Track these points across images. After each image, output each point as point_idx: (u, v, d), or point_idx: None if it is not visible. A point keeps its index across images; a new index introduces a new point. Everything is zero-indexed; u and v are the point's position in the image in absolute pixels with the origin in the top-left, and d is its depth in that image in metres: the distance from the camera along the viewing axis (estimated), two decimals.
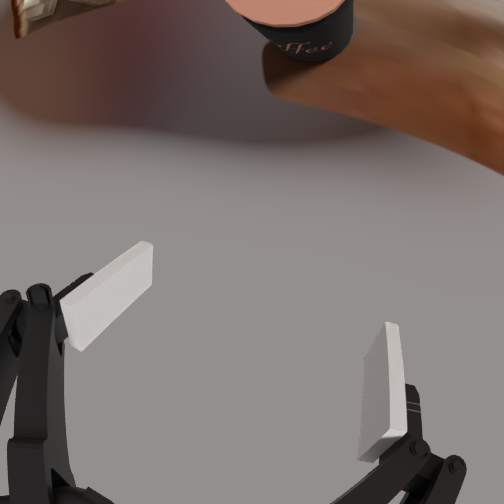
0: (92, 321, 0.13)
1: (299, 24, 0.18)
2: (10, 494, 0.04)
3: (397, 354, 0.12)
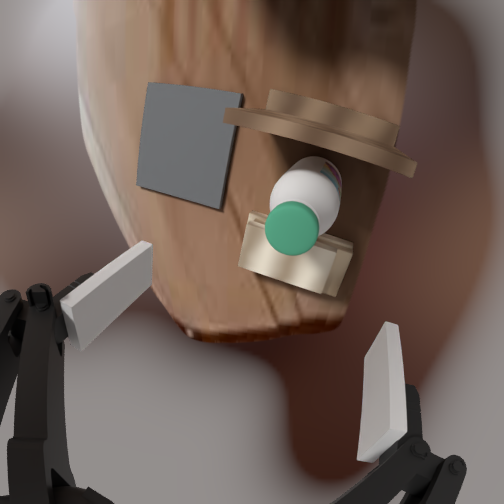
0: (92, 321, 0.13)
1: None
2: (10, 494, 0.04)
3: (397, 354, 0.12)
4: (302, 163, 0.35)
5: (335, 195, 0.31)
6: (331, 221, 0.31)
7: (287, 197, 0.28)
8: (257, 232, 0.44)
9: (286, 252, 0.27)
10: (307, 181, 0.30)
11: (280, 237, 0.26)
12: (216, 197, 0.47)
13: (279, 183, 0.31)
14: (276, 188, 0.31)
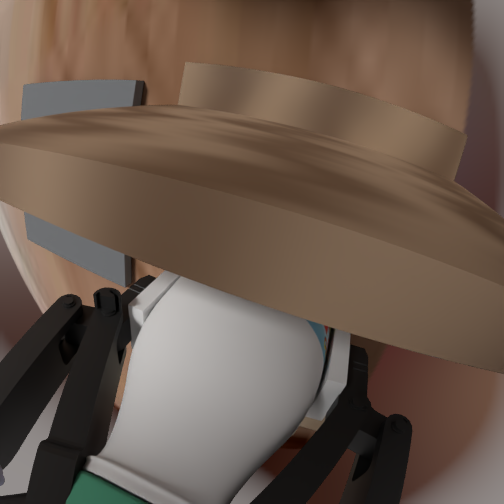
0: None
1: None
2: (28, 493, 0.04)
3: None
4: None
5: (308, 370, 0.10)
6: (290, 435, 0.10)
7: (129, 423, 0.07)
8: None
9: None
10: (207, 353, 0.08)
11: None
12: (118, 269, 0.26)
13: (143, 330, 0.10)
14: (135, 344, 0.10)
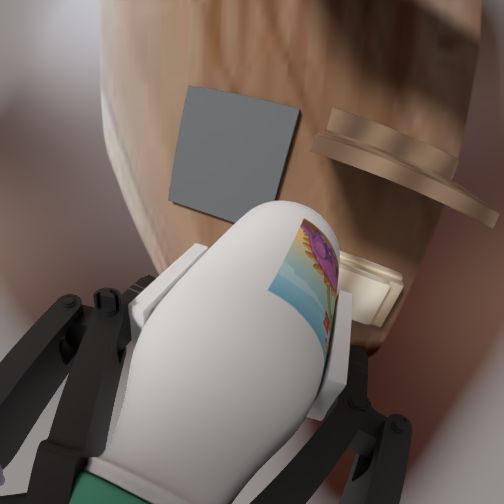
0: None
1: None
2: (28, 493, 0.04)
3: (346, 317, 0.14)
4: (236, 239, 0.14)
5: (309, 371, 0.10)
6: (291, 436, 0.10)
7: (130, 424, 0.07)
8: None
9: None
10: (208, 355, 0.08)
11: None
12: None
13: (144, 331, 0.10)
14: (136, 345, 0.10)
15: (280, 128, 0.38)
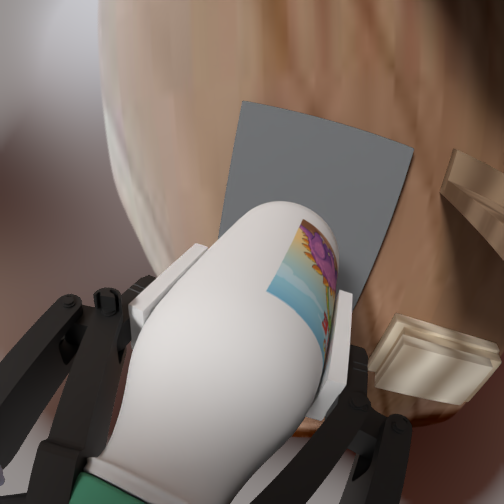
0: None
1: None
2: (28, 493, 0.04)
3: (346, 317, 0.14)
4: (235, 239, 0.14)
5: (307, 371, 0.10)
6: (290, 436, 0.10)
7: (129, 425, 0.07)
8: (414, 353, 0.27)
9: None
10: (206, 355, 0.08)
11: None
12: None
13: (142, 332, 0.10)
14: (135, 346, 0.10)
15: (387, 175, 0.25)
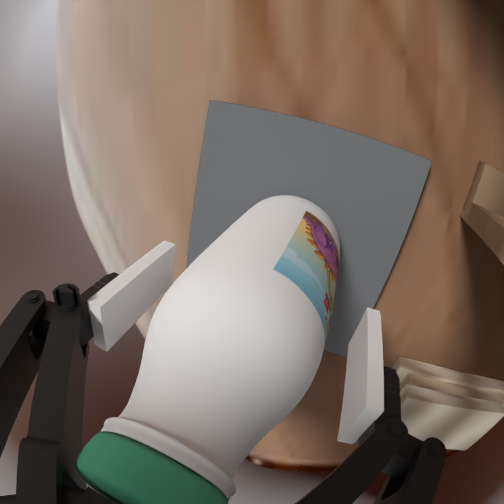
0: (118, 321, 0.13)
1: None
2: (17, 493, 0.04)
3: (377, 338, 0.13)
4: (244, 227, 0.16)
5: (310, 342, 0.11)
6: (294, 406, 0.11)
7: (147, 386, 0.08)
8: (418, 405, 0.21)
9: None
10: (220, 322, 0.10)
11: (122, 503, 0.07)
12: (346, 341, 0.25)
13: (159, 306, 0.12)
14: (152, 320, 0.12)
15: (396, 195, 0.19)
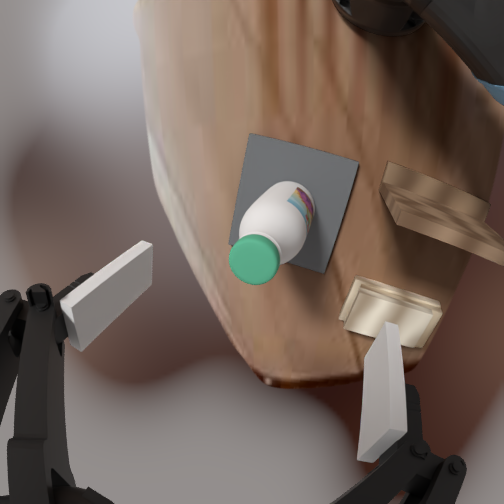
0: (92, 321, 0.13)
1: None
2: (10, 494, 0.04)
3: (397, 354, 0.12)
4: (272, 191, 0.38)
5: (301, 223, 0.33)
6: (297, 249, 0.33)
7: (252, 229, 0.30)
8: (368, 300, 0.44)
9: (249, 281, 0.29)
10: (272, 212, 0.32)
11: (243, 268, 0.28)
12: (322, 262, 0.47)
13: (247, 213, 0.34)
14: (244, 218, 0.34)
15: (341, 180, 0.42)
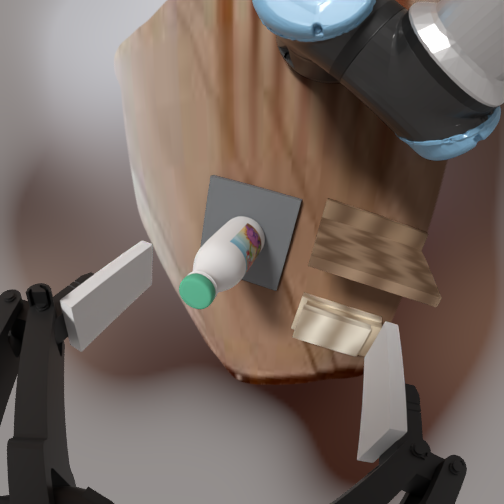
0: (92, 321, 0.13)
1: None
2: (10, 494, 0.04)
3: (397, 354, 0.12)
4: (223, 229, 0.48)
5: (239, 260, 0.43)
6: (235, 280, 0.43)
7: (197, 267, 0.41)
8: (310, 315, 0.54)
9: (194, 307, 0.39)
10: (215, 252, 0.42)
11: (189, 297, 0.39)
12: (274, 282, 0.57)
13: (198, 251, 0.44)
14: (196, 255, 0.44)
15: (286, 215, 0.51)
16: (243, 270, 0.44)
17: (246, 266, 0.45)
